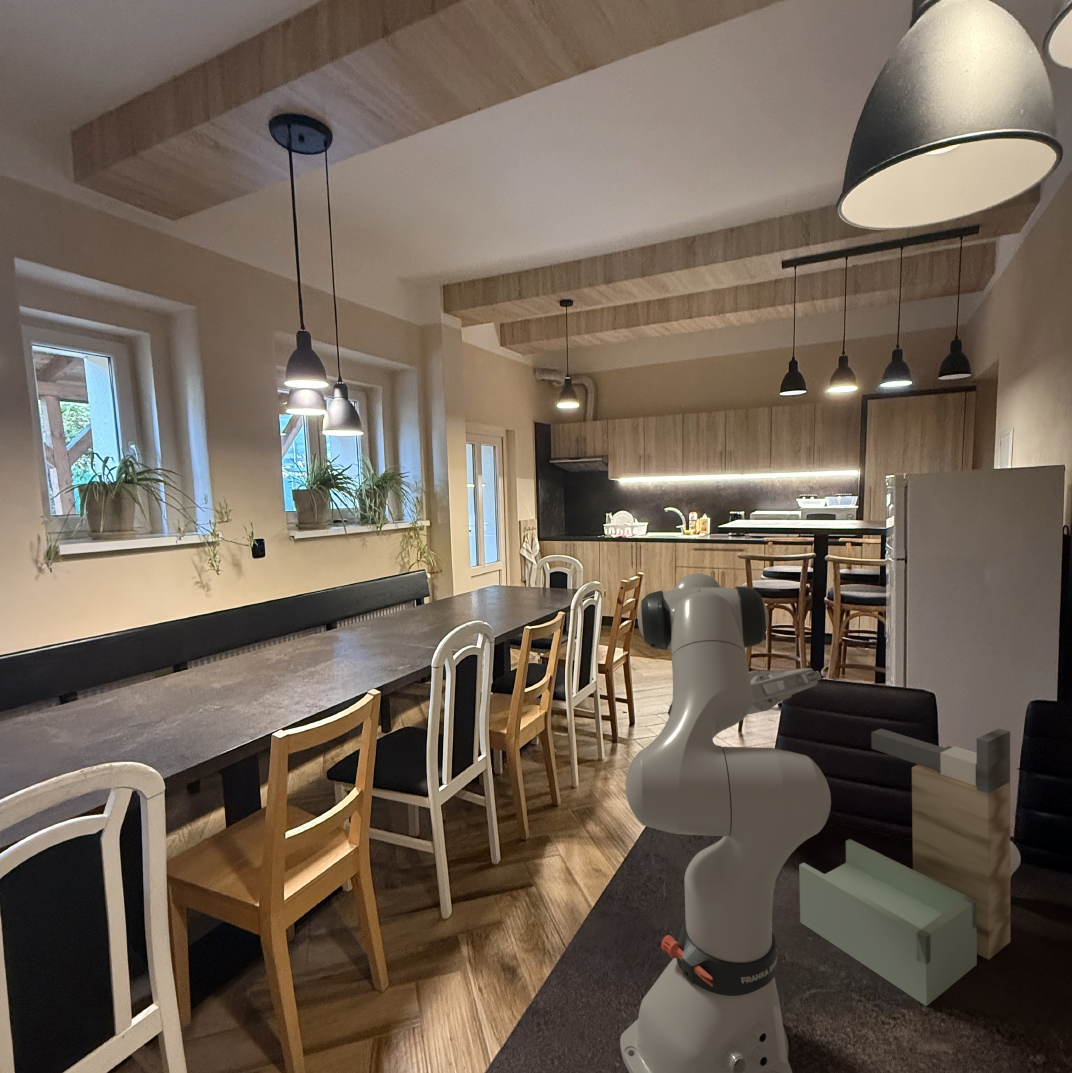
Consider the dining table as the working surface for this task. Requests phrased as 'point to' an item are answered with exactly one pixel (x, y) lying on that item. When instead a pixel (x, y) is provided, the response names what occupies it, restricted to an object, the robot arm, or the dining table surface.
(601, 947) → the dining table surface
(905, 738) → the grey square bar
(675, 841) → the dining table surface
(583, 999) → the dining table surface
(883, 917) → the bin
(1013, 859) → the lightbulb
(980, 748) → the stand
